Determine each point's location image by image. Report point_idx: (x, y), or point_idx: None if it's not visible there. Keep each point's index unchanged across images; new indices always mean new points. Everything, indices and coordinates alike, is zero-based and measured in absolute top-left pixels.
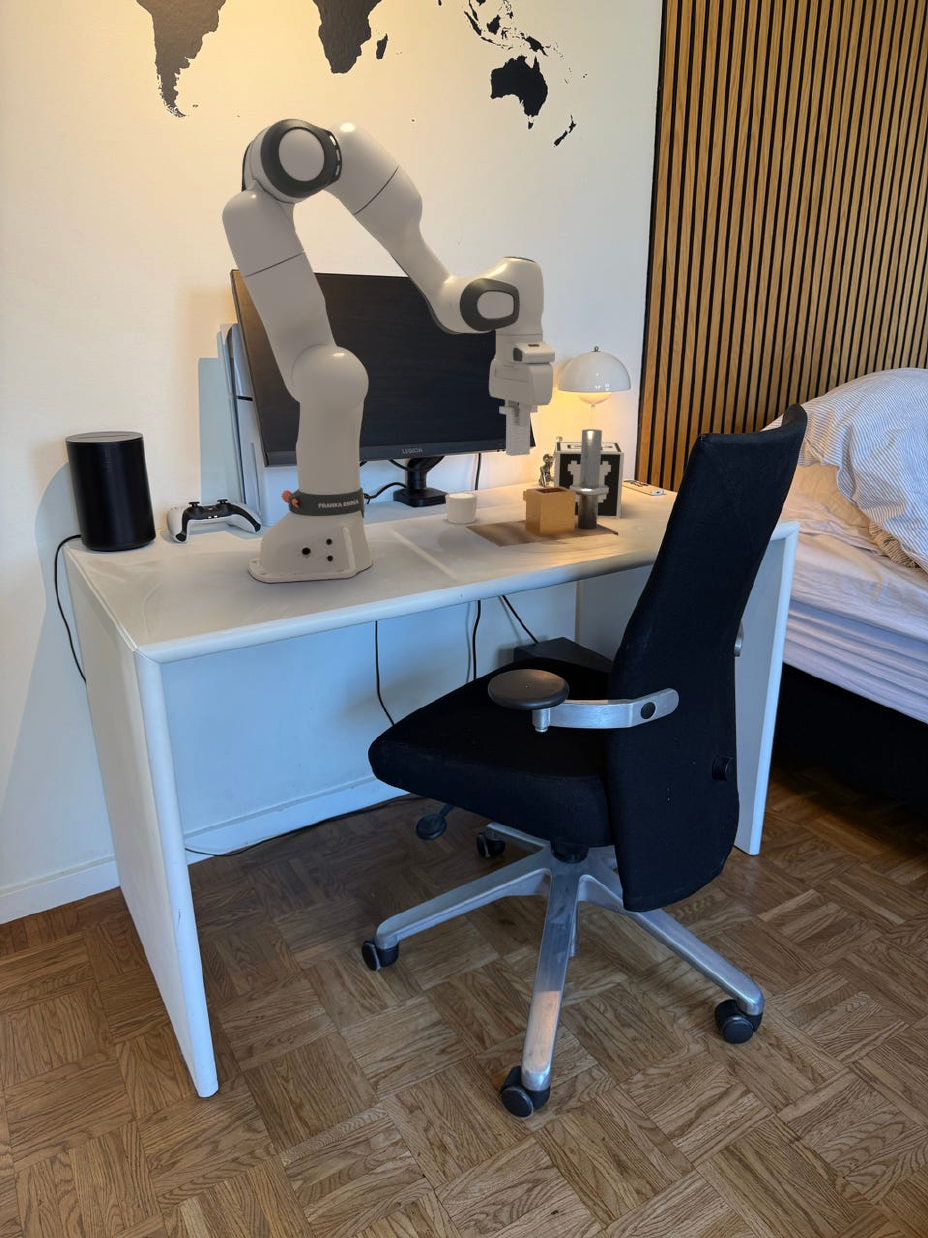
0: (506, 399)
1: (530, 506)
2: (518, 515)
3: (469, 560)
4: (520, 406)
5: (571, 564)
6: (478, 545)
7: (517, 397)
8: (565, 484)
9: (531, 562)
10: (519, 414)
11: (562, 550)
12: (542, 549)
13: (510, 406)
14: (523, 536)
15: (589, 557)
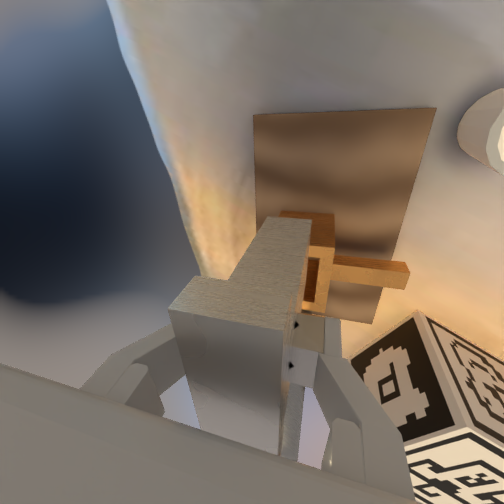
0: (310, 467)
1: (314, 231)
2: (479, 276)
3: (237, 32)
4: (122, 373)
5: (179, 191)
6: (325, 98)
7: (34, 425)
8: (419, 365)
9: (199, 144)
10: (171, 334)
11: (240, 216)
12: (255, 194)
13: (248, 385)
14: (294, 187)
15: (202, 227)
